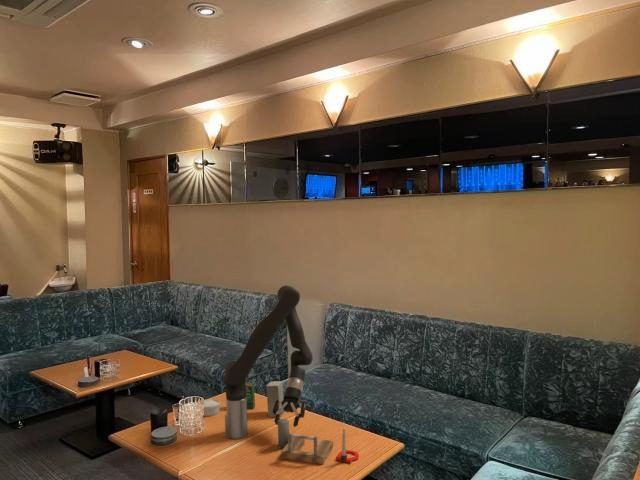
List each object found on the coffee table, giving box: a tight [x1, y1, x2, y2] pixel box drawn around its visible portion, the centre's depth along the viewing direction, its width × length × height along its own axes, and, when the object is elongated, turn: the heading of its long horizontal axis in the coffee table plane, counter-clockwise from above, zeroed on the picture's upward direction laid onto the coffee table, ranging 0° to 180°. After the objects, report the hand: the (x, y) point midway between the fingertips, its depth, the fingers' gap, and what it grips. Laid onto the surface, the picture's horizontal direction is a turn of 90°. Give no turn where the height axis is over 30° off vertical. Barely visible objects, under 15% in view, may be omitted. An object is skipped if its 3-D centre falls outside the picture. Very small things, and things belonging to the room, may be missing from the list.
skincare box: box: [265, 380, 284, 418], centre depth 233 cm, size 8×7×16 cm
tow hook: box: [335, 428, 360, 464], centre depth 188 cm, size 8×13×9 cm
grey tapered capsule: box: [277, 418, 290, 450], centre depth 198 cm, size 5×5×11 cm
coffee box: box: [245, 382, 256, 410], centre depth 242 cm, size 8×3×13 cm, turn 72°
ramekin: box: [203, 398, 221, 417], centre depth 236 cm, size 11×11×5 cm
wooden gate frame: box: [281, 433, 334, 465], centre depth 191 cm, size 18×14×10 cm
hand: (285, 425), depth 200 cm, fingers open, 8 cm apart
